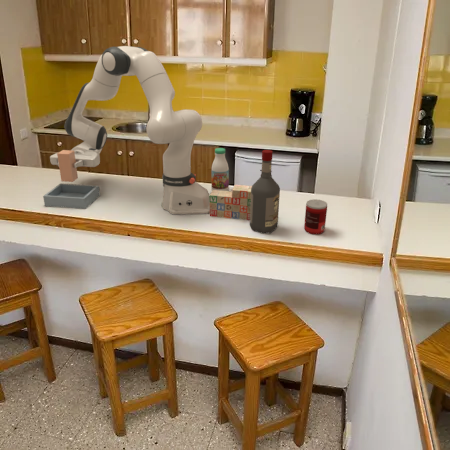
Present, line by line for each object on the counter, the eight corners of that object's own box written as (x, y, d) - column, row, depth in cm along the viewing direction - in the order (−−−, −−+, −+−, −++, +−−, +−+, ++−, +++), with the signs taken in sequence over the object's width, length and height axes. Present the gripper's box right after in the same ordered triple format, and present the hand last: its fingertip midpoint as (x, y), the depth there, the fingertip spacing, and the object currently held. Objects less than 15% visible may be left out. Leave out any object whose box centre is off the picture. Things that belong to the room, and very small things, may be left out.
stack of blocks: (209, 216, 182) (208, 187, 176) (212, 210, 187) (212, 182, 182) (262, 221, 178) (263, 192, 172) (264, 215, 183) (265, 186, 178)
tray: (99, 195, 201) (98, 185, 199) (85, 208, 188) (84, 198, 186) (61, 192, 203) (60, 183, 201) (44, 206, 190) (43, 196, 188)
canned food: (321, 225, 175) (324, 199, 170) (326, 234, 168) (329, 207, 163) (302, 225, 175) (304, 199, 170) (306, 235, 167) (308, 207, 163)
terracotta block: (78, 177, 193) (74, 150, 188) (72, 182, 189) (68, 154, 184) (66, 177, 194) (62, 149, 189) (61, 181, 190) (57, 153, 184)
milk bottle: (209, 189, 208) (209, 147, 199) (225, 188, 210) (225, 146, 201) (214, 196, 201) (214, 152, 193) (230, 194, 203) (231, 150, 195)
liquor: (247, 229, 171) (249, 152, 158) (258, 220, 178) (261, 146, 165) (269, 235, 167) (273, 156, 154) (279, 226, 174) (284, 150, 161)
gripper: (57, 147, 200) (41, 156, 188) (101, 149, 198) (88, 159, 185) (59, 161, 203) (44, 171, 191) (103, 163, 200) (90, 174, 188)
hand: (66, 165), depth 188 cm, fingers closed on terracotta block, 5 cm apart
